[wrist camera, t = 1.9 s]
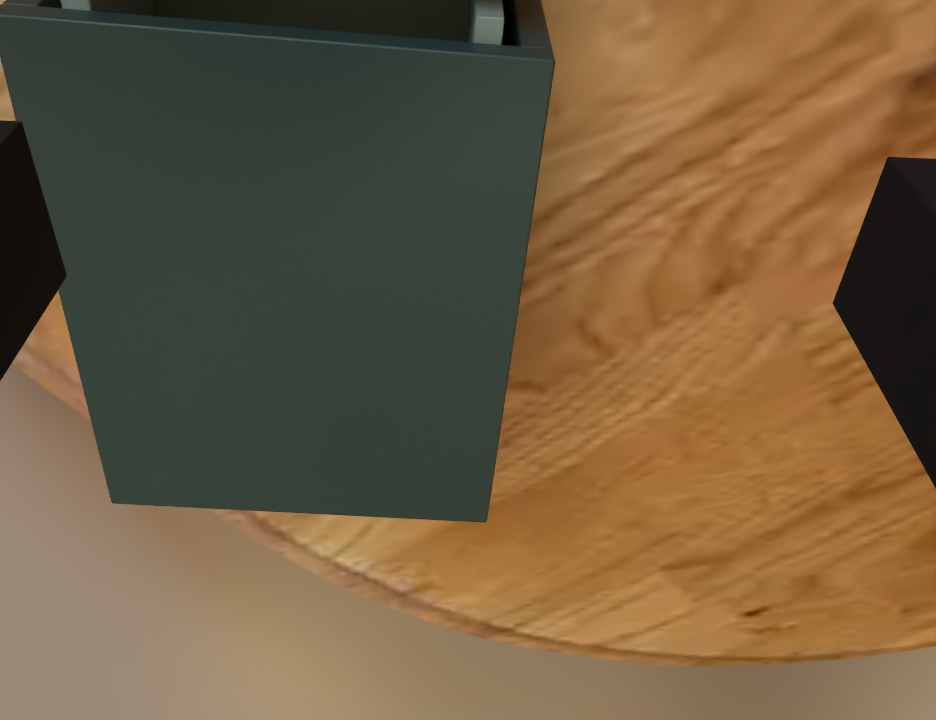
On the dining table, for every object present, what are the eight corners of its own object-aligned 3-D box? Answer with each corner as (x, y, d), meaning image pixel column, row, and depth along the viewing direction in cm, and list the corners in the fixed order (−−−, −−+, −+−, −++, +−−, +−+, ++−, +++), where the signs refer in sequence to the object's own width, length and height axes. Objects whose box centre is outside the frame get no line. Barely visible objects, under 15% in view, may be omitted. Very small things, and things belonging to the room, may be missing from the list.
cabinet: (97, -71, 29) (-13, 12, 23) (534, -32, 30) (556, 60, 23) (169, 362, 41) (110, 504, 34) (482, 381, 42) (486, 523, 35)
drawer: (50, -414, 23) (-73, -435, 18) (556, -358, 24) (584, -361, 19) (164, 298, 38) (115, 405, 32) (478, 318, 39) (481, 426, 33)
